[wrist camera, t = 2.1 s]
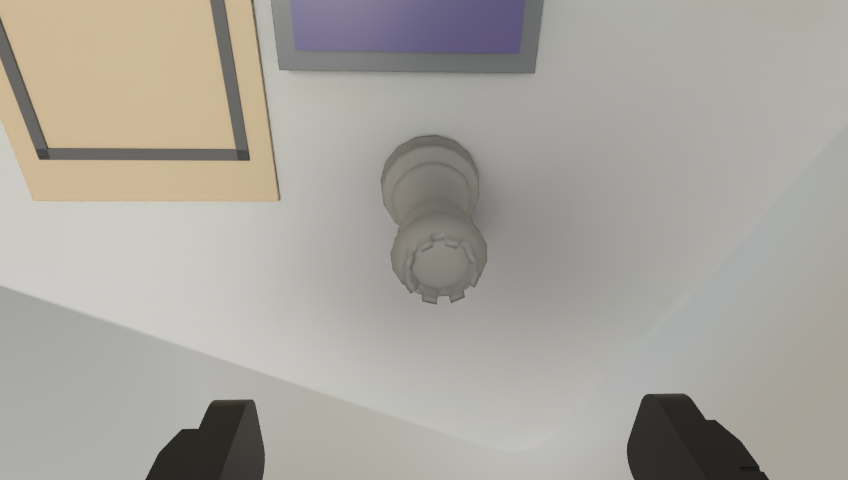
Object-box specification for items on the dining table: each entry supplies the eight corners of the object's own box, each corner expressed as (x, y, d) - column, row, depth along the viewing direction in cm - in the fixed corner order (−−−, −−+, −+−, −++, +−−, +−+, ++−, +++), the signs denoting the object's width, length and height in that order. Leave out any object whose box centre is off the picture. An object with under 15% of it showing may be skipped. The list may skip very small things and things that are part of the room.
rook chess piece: (409, 114, 21) (411, 184, 14) (495, 160, 22) (538, 246, 15) (364, 198, 23) (348, 297, 16) (446, 236, 24) (465, 345, 17)
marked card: (231, -153, 16) (228, -156, 16) (279, 199, 23) (277, 201, 22) (-109, -164, 16) (-118, -166, 16) (36, 199, 22) (32, 202, 22)
